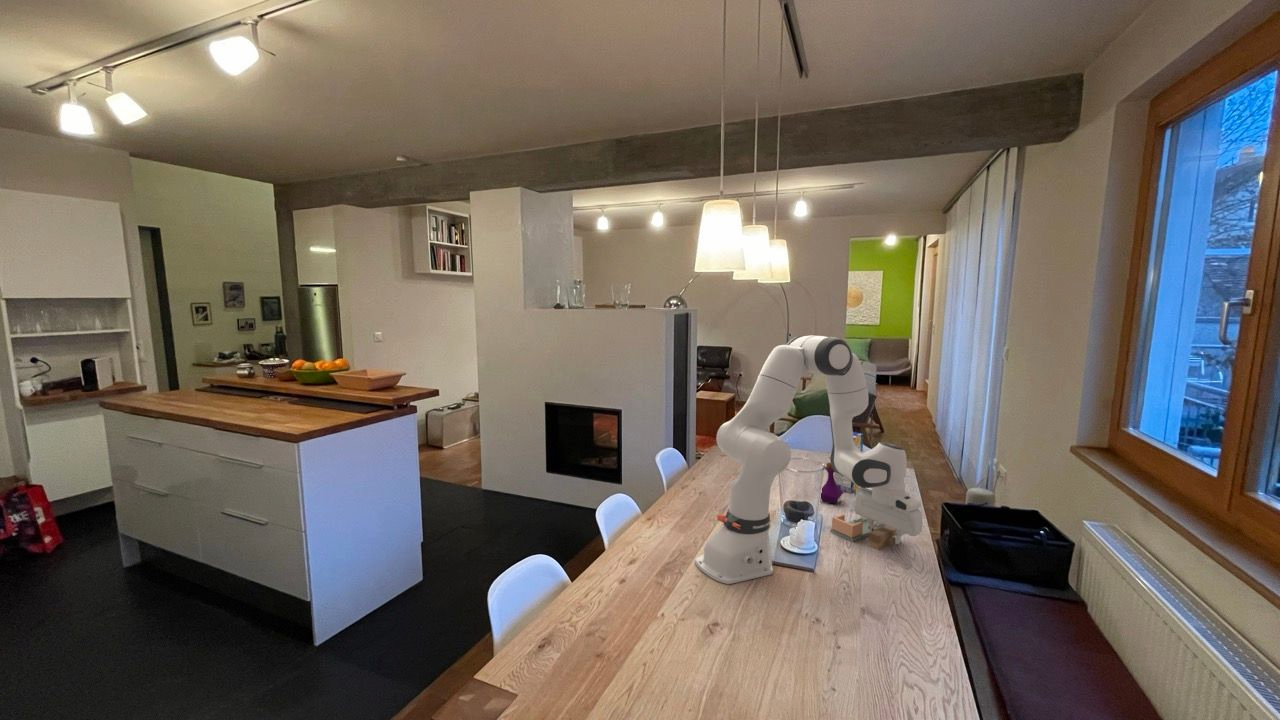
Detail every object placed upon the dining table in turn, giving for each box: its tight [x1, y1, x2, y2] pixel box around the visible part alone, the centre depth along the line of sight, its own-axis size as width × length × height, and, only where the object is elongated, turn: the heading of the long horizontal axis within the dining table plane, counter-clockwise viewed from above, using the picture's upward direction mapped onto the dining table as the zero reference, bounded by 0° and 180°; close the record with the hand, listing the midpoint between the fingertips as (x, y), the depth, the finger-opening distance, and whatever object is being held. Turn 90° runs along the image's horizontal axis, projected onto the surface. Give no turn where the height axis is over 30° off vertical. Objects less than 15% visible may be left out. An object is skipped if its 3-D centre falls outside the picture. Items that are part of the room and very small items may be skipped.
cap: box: [831, 513, 863, 537], centre depth 156 cm, size 6×7×4 cm
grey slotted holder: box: [830, 515, 886, 543], centre depth 160 cm, size 20×8×5 cm, turn 123°
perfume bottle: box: [820, 453, 844, 505], centre depth 183 cm, size 8×8×18 cm
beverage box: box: [833, 431, 865, 494], centre depth 197 cm, size 7×11×22 cm, turn 138°
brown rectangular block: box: [867, 526, 898, 551], centre depth 151 cm, size 12×3×4 cm, turn 122°
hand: (884, 537), depth 152 cm, fingers open, 6 cm apart
